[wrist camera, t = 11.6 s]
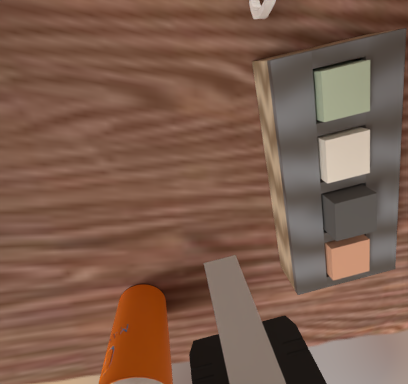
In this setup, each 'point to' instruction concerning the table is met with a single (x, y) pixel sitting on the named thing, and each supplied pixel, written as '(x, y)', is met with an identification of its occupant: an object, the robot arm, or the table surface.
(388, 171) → the console
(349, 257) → the key terracotta
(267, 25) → the table surface
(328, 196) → the key dark gray
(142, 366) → the shaker bottle
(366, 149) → the key ivory
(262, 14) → the mug
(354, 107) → the key sage
